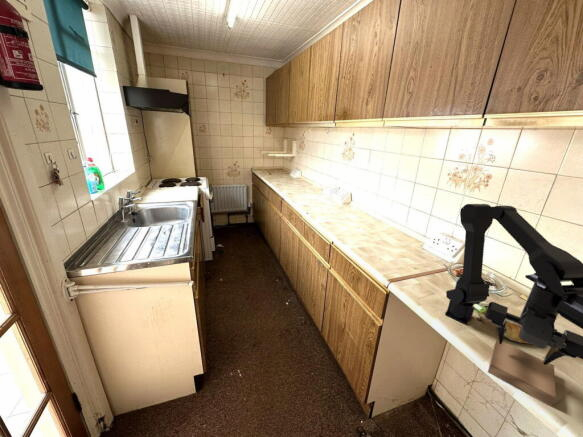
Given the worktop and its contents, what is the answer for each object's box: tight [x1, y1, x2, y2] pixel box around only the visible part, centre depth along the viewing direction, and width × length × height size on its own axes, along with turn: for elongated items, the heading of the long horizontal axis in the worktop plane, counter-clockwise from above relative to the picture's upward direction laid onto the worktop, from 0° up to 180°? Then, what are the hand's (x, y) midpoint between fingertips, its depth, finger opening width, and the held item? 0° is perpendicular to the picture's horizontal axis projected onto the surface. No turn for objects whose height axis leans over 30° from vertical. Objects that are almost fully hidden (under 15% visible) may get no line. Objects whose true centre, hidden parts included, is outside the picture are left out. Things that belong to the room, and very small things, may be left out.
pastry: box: [504, 320, 532, 345], centre depth 77 cm, size 9×7×4 cm
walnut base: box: [487, 338, 557, 407], centre depth 65 cm, size 12×12×3 cm
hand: (521, 352), depth 65 cm, fingers open, 8 cm apart
